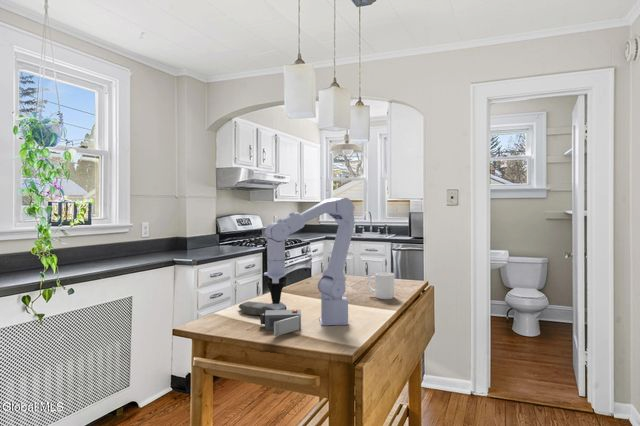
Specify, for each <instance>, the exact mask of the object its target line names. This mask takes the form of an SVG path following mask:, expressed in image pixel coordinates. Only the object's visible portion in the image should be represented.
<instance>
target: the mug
mask: <svg viewBox="0 0 640 426" xmlns="http://www.w3.org/2000/svg"><path fill="white" fill-rule="evenodd" d="M372 280H374V288H372V286H371V282H372ZM366 284H367V289H368V291H370V292H371V293H374V296H375V298H376V299H379V300H391V299H393V298H394V297H395V274H394V272H388V271H387V272H386V271H380V272H375V273H374V275H372V276H370V277H369V278H368V279H367V282H366Z"/></svg>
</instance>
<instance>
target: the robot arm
mask: <svg viewBox="0 0 640 426" xmlns="http://www.w3.org/2000/svg"><path fill="white" fill-rule="evenodd" d="M355 207H356V206H355V205H354V203H353V202H352V200H351V199H349V198H348V197H333V196H332V197H329V198H327V199H324V200H322V201H320V202H319V203H317V204H315V205H313V206H311V207H310V208H308V209H307V210H304V211H303V212H301V213H300V212H298V211H295V212H294V211H292V212H289V213H288V214H289V215H287V216H285V217H283V218H278V219H277V221H276V222H270V223H268V224H267V226H266V227H265V229H264V231H263V233H264V236H265V238H266V240H267V241H266V243H267V247H266V248H267V249H266V253H267V254H266V255H267V256H266V257H267V262H266V263H267V271H266V272H264V273H263V276H267V277H268V280H269V281H267V282H266V286H267V288H268V290H269V292H270V296H271V303H273V304H279V303H280V302H281V296H282V291H283V289H284V286H285V283H286V282H284V281H285V279H286V275H287V273H286V246H285V244H286V242H285V241H286V239H287V238H288V236H289V235H291V234H293V233H295V232H297V231H300V230H302V229H303V228H304V227H305V224H306V222H309V221H312V220H313V219H315V218H318V217H320V216H322V215H324V214H327V215H329V216H330V217H331V218H333V219H334V221H335V222H336V224H337V226H338V227H337V230H336V235H335V238H334V242H333V247H332V250H331V254H330V259H329V262H328V266H327V268H326V269H325V270H324V271H323V272H322V275H321V277H320V279H319V280H318V283H317V289H318V291H319V292H320V296H321V297H320V298H321V305H320V306H321V308H320V309H321V315H320V316H321V317H319V322H320V323H319V324H320V326H343V325H346V326H348V325H349V299H348V296H344V295H345V293H346V276H345V274H344V270H345V264H346V261H347V256H348V251H349V249H350V248H349V247H350V245H351V241H352V235H353V233H354V229H355V224H356V223H355V222H356V221H355V216H354V212H355Z"/></svg>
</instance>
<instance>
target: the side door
mask: <svg viewBox="0 0 640 426" xmlns="http://www.w3.org/2000/svg"><path fill="white" fill-rule="evenodd" d="M301 329H302V314H301V315H299V316H295V317H291V318H287V319H284V320H280V321H276V322H274V330H273V336H274V337H277V336H281V335H284V334H285V335H286V334H288V333H291V332H294V331H298V330H299V331H300V330H301Z"/></svg>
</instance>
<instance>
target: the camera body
mask: <svg viewBox="0 0 640 426" xmlns="http://www.w3.org/2000/svg"><path fill="white" fill-rule="evenodd" d="M301 312H302V310H301V309H286V310H266V312H265V314H261V315H260V325H264V331H274V322H276V321H280V320H284V319H287V318H291V317H295V316H299V315H301V316H302V313H301Z"/></svg>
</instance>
